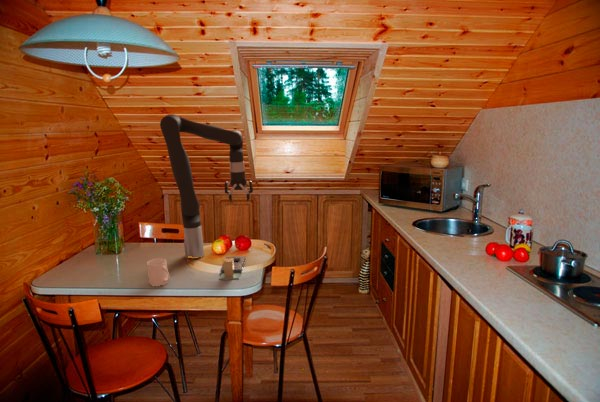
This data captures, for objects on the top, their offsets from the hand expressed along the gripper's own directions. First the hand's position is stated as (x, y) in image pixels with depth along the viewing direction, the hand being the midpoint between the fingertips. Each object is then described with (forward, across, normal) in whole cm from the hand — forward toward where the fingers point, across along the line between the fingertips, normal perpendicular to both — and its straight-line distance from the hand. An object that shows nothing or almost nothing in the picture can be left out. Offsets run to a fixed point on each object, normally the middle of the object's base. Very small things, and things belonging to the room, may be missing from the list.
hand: (239, 200), depth 219 cm
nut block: (+30, -3, -26) cm, 40 cm away
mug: (+30, -34, -32) cm, 56 cm away
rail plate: (+30, -3, -15) cm, 34 cm away
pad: (+30, -3, -26) cm, 40 cm away
